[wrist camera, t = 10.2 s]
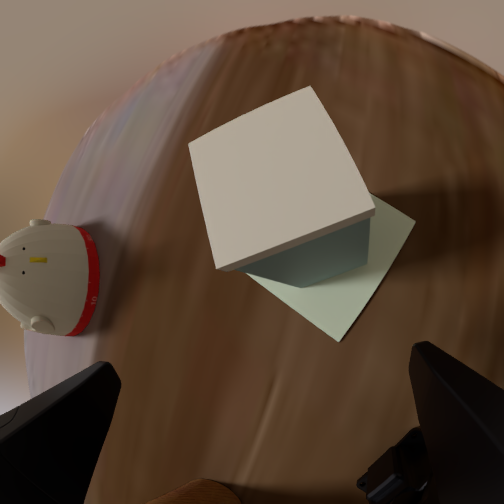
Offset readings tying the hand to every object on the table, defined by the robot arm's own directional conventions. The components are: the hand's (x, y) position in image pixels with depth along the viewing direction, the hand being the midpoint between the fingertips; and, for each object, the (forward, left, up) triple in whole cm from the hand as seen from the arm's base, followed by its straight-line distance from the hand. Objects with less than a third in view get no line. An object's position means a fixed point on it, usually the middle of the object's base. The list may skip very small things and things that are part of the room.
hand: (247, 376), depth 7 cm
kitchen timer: (+27, +15, -14) cm, 33 cm away
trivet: (+4, -5, -13) cm, 15 cm away
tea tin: (+4, -5, -13) cm, 15 cm away
